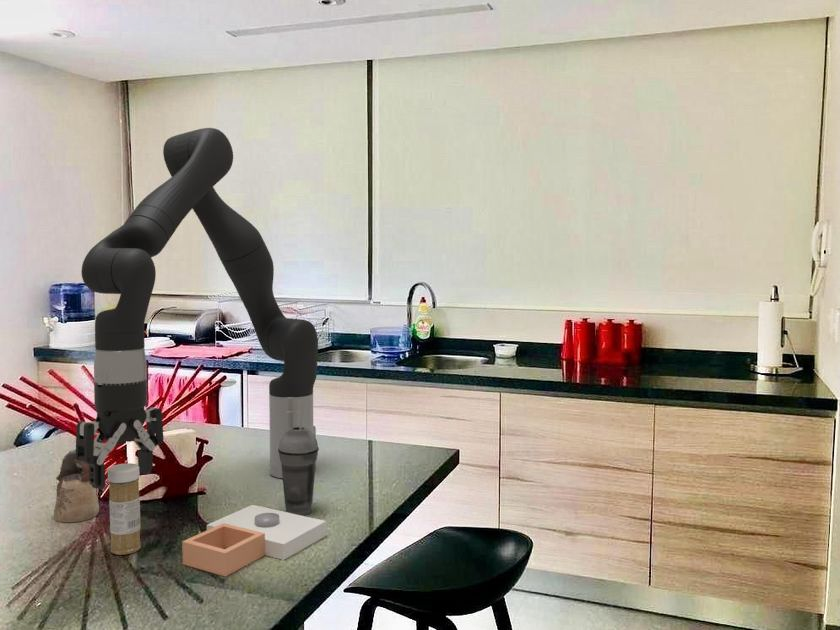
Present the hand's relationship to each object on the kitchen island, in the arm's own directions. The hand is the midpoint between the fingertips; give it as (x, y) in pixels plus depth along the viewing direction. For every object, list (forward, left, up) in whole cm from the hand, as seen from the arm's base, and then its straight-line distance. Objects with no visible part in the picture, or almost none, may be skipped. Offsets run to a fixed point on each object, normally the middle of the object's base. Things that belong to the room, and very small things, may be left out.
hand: (122, 480), depth 111 cm
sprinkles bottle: (0, 0, -11) cm, 11 cm away
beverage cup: (-27, +13, -11) cm, 32 cm away
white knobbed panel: (-11, +16, -11) cm, 22 cm away
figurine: (-6, -20, -12) cm, 24 cm away
